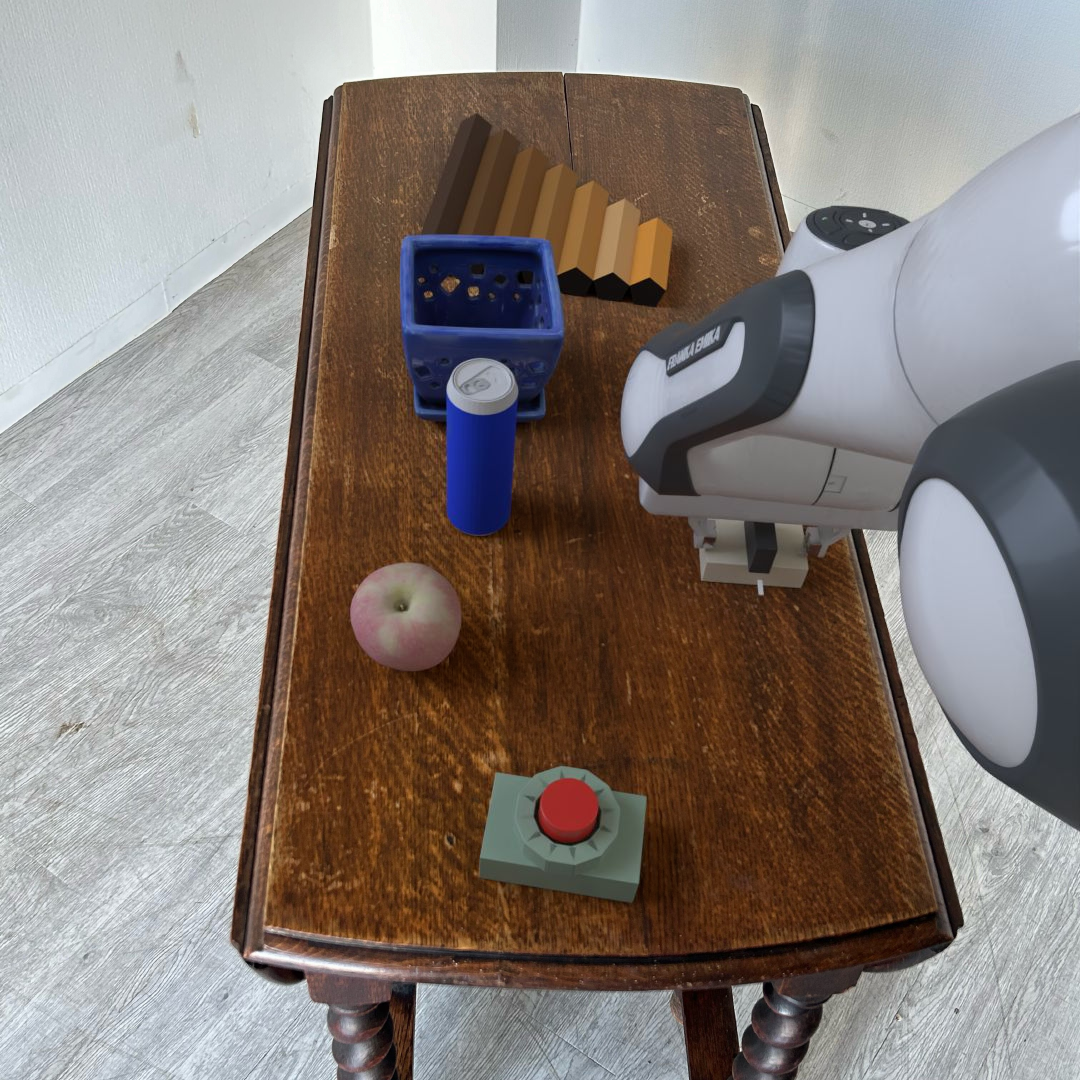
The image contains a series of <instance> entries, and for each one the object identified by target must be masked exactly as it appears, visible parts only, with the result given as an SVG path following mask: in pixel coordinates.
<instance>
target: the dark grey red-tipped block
mask: <svg viewBox="0 0 1080 1080" xmlns="http://www.w3.org/2000/svg"><path fill="white" fill-rule="evenodd" d="M744 530H745V540H746V550H747V560H748V570H749V572H750V573H764V574H769V573H770V570H771V567H772V564H773V562H774V559H775V556H776V554H777V551H778V547H777V538H776V530H775V523H767V522H753V521H744Z"/></svg>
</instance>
